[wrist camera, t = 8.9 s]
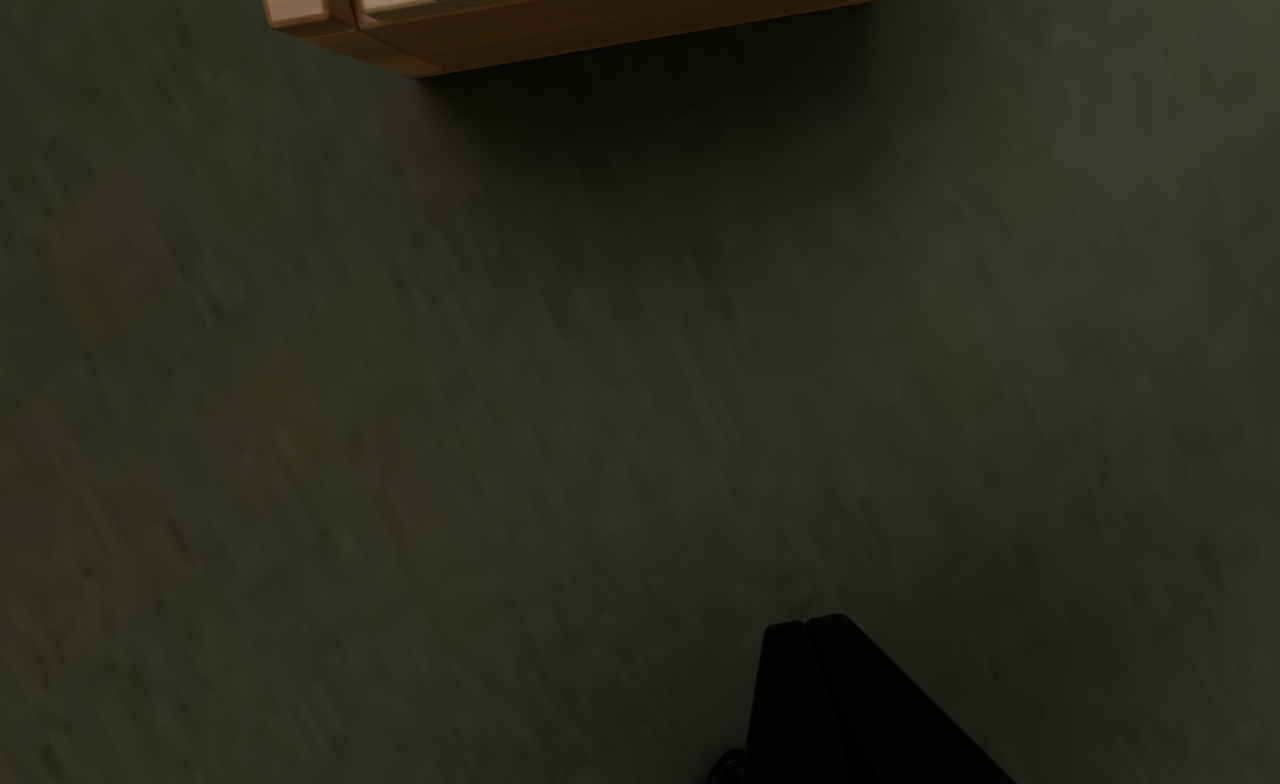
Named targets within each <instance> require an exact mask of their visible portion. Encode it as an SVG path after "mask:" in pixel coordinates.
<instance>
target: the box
mask: <svg viewBox="0 0 1280 784" xmlns="http://www.w3.org/2000/svg"><path fill="white" fill-rule="evenodd" d="M871 1H873V0H498V1H492V2H486V3H480V4H474V5H468V6H463V7H457V8H451V9H445V10H439V11H433V12H427V13H421V14H415V15H409V16H404V17H398V18H392V19H386V20H380V21H379V20H375V19H373V18H371V17H369V16H367V15H366V14H364V12H363V11H362V7H361V3H360V0H262V2H263V6H264V10H265V14H266V18H267V22H268V24H269V26H270V27H271V28H272V29H274V30H277V31H280V32H283V33H286V34H289V35H292V36H294V37H297V38H299V39H300V40H302V41H305V42H308V43H311V44H314V45H317V46H320V47H323V48H326V49H329V50H332V51H335V52H338V53H340V54H343V55H346V56H349V57H352V58H355V59H358V60H361V61H364V62H367V63H370V64H373V65H376V66H379V67H382V68H385V69H388V70H391V71H394V72H397V73H399V74H402V75H405V76H411V77H414V78H423V77H429V76H435V75H441V74H447V73H452V72H458V71H464V70H470V69H476V68H482V67H488V66H494V65H500V64H506V63H512V62H517V61H523V60H529V59H535V58H541V57H547V56H553V55H559V54H565V53H571V52H576V51H582V50H588V49H594V48H600V47H606V46H612V45H618V44H624V43H630V42H636V41H641V40H647V39H653V38H659V37H665V36H671V35H677V34H683V33H689V32H695V31H701V30H706V29H712V28H718V27H724V26H730V25H736V24H742V23H748V22H754V21H760V20H766V19H771V18H777V17H783V16H789V15H795V14H801V13H807V12H813V11H819V10H825V9H831V8H836V7H842V6H848V5H854V4H860V3H866V2H871Z"/></svg>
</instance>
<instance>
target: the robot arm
mask: <svg viewBox="0 0 1280 784" xmlns="http://www.w3.org/2000/svg"><path fill="white" fill-rule="evenodd" d="M737 767H740V768H742V770H741V773H740V774H731V773H730V771H731V770H732V769H733V768H737ZM703 784H1017V783H1016V782H1015V781H1014V780H1013V779H1012V778H1011V777H1010V776H1009V775H1008V774H1007V773H1006V772H1005V771H1004V770H1003V769H1002V768H1001V767H1000V766H999V765H998V764H997V763H996V762H995V761H994V760H993V759H992V758H991V757H990V756H989V755H988V754H987V753H986V752H985V751H984V750H983V749H981V748H980V747H979V746H978V745H977V744H976V743H975V742H974V741H973V740H972V739H971V738H970V737H969V736H968V735H967V734H966V733H965V732H964V731H963V730H962V729H961V728H960V727H959V726H958V725H957V724H956V723H955V722H954V721H953V720H952V719H951V718H950V717H949V716H948V715H947V714H946V713H945V712H944V711H943V710H942V709H941V708H940V707H939V706H938V705H937V704H936V703H935V702H934V701H933V700H932V699H931V698H930V697H929V696H928V695H927V694H926V693H925V692H924V691H923V690H922V689H921V688H920V687H919V686H918V685H917V684H916V683H915V682H914V681H913V680H912V679H911V678H910V677H909V676H908V675H907V674H906V673H905V672H904V671H903V670H902V669H901V668H900V667H899V666H898V665H897V664H896V663H895V662H894V661H892V660H891V659H890V658H889V657H888V656H887V655H886V654H885V653H884V652H883V651H882V650H881V649H880V648H879V647H878V646H877V645H876V644H875V643H874V642H873V641H872V640H871V639H870V638H869V637H868V636H867V635H866V634H865V633H864V632H863V631H862V630H861V629H860V628H859V627H858V626H857V625H856V624H855V623H854V622H853V621H852V620H851V619H850V618H849V617H848V616H846V615H844V614H832V615H826V616H820V617H814V618H810V619H809V620H808V621H807V622H806V624H804V623H803V622H802V621H800V620H796V621H790V622H784V623H778V624H772V625H769V626H767V627H766V629H765V631H764V636H763V642H762V649H761V655H760V661H759V667H758V673H757V679H756V685H755V691H754V697H753V703H752V709H751V715H750V721H749V727H748V734H747V740H746V746H745V751H743V750H739V749H738V750H731V751H728V752H726V753H724V754H723V755H722V756H721V757H720V759H719V760H718V762H717V763H716V765H715V766H714V768H713V769H712V771H711V773H710V774H709V776H708V777H707V779H706V780H705V782H704V783H703Z"/></svg>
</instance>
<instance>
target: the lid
mask: <svg viewBox="0 0 1280 784" xmlns="http://www.w3.org/2000/svg"><path fill="white" fill-rule="evenodd" d="M492 1H498V0H360V3H361V7H362V11H363V12H364V14H366V15H367V16H369V17H371V18H373V19H375V20H379V21H380V20H386V19H392V18H398V17H404V16H409V15H415V14H421V13H427V12H433V11H439V10H445V9H451V8H457V7H463V6H468V5H474V4H480V3H486V2H492Z"/></svg>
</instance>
